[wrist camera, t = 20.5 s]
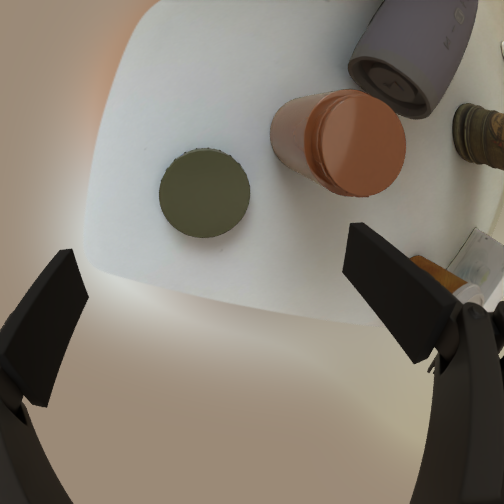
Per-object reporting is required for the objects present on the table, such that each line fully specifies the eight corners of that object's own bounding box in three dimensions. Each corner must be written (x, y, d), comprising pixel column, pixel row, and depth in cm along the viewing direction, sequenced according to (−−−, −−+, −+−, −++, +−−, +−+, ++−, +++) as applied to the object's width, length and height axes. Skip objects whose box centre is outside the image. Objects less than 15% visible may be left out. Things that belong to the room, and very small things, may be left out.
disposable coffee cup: (376, 300, 35) (423, 357, 25) (403, 240, 31) (466, 288, 21) (415, 301, 38) (459, 348, 27) (441, 249, 34) (494, 290, 23)
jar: (269, 94, 21) (314, 78, 12) (344, 101, 22) (413, 99, 14) (269, 173, 25) (310, 205, 16) (341, 173, 26) (404, 203, 17)
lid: (247, 227, 27) (250, 235, 25) (166, 234, 25) (164, 242, 24) (246, 145, 23) (250, 147, 21) (157, 151, 22) (154, 154, 20)
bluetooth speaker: (386, 120, 24) (456, 131, 15) (322, 64, 20) (384, 43, 12) (443, 14, 17) (496, 8, 8) (397, -34, 14) (446, -53, 5)
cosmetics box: (474, 225, 34) (518, 253, 24) (481, 244, 36) (519, 271, 27) (442, 273, 36) (483, 308, 27) (451, 287, 39) (487, 320, 30)
